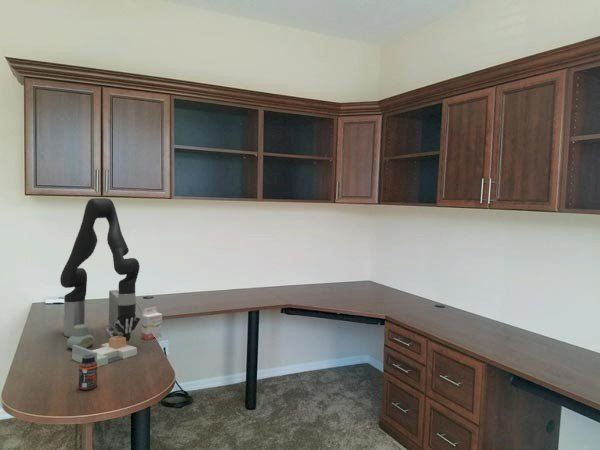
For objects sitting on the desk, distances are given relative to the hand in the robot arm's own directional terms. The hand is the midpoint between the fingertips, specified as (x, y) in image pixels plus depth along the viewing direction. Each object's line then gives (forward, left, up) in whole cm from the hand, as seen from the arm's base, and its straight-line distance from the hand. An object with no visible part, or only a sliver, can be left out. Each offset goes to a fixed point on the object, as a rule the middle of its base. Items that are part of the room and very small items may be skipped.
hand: (126, 340), depth 191 cm
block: (0, -5, -2) cm, 5 cm away
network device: (-28, +14, -5) cm, 31 cm away
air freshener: (-20, -10, -5) cm, 23 cm away
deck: (0, -10, -5) cm, 11 cm away
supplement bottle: (+23, -32, -5) cm, 39 cm away
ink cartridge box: (-7, +19, -5) cm, 21 cm away
